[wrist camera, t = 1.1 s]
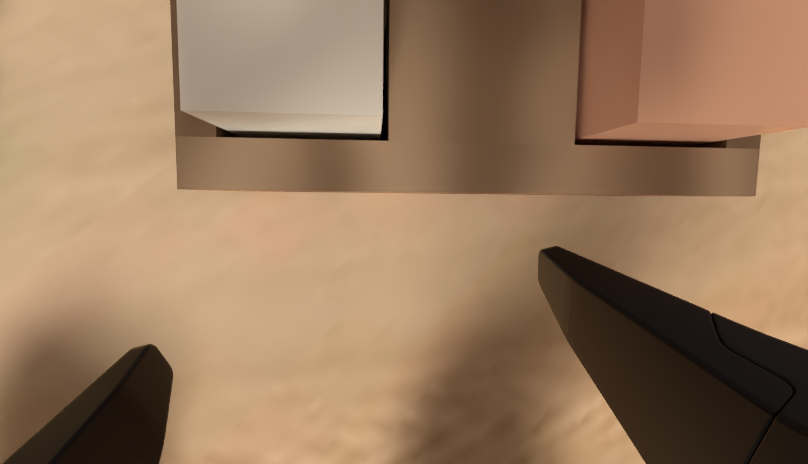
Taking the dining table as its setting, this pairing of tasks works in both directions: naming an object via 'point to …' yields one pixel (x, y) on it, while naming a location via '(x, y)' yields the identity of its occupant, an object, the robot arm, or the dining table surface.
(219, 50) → the white box
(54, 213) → the dining table surface
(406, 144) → the brown striped box
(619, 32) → the salmon pink block
